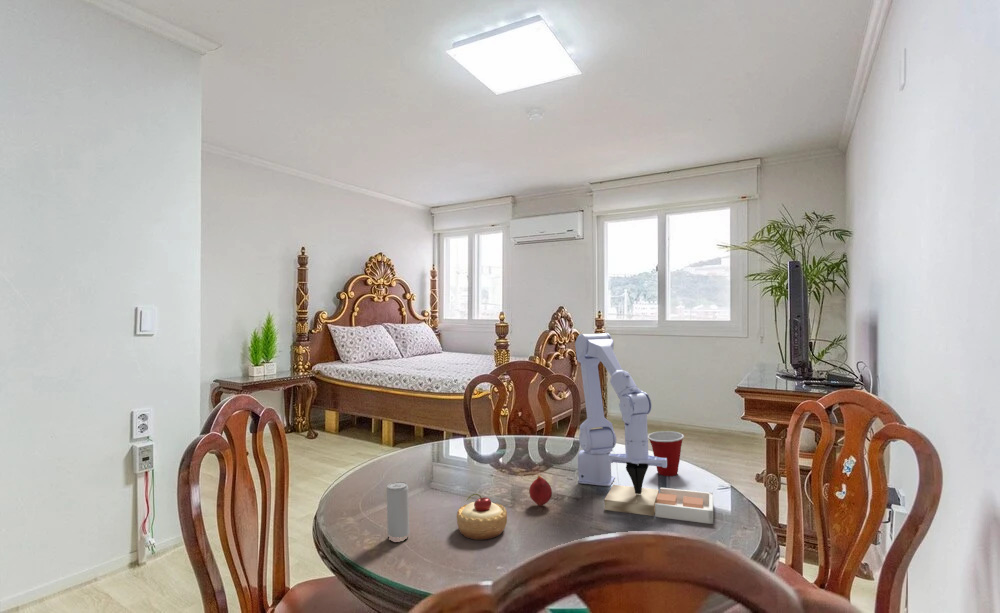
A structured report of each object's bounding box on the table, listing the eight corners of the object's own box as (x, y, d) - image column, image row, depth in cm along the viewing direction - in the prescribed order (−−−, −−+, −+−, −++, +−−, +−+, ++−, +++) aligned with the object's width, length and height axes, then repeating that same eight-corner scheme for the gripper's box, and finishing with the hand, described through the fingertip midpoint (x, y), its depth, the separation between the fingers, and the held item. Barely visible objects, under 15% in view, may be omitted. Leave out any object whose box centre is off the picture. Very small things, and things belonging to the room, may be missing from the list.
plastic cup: (641, 471, 153) (639, 432, 153) (669, 466, 157) (667, 429, 157) (664, 481, 143) (662, 440, 143) (693, 476, 147) (691, 436, 147)
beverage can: (389, 534, 112) (388, 482, 112) (410, 533, 112) (409, 481, 113) (386, 544, 107) (384, 489, 107) (408, 542, 107) (406, 488, 108)
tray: (655, 516, 117) (655, 504, 117) (660, 498, 129) (660, 487, 129) (713, 524, 112) (712, 511, 112) (713, 504, 124) (712, 492, 124)
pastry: (512, 541, 108) (512, 501, 108) (459, 546, 105) (459, 505, 105) (501, 518, 120) (501, 482, 120) (453, 523, 117) (453, 486, 117)
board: (604, 509, 123) (604, 499, 123) (613, 493, 134) (613, 484, 134) (654, 516, 118) (653, 505, 118) (659, 499, 129) (658, 489, 129)
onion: (554, 503, 128) (553, 472, 128) (549, 511, 123) (548, 479, 123) (533, 501, 130) (532, 471, 130) (527, 509, 125) (526, 477, 125)
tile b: (683, 512, 118) (682, 502, 118) (684, 506, 123) (683, 496, 123) (703, 515, 117) (702, 504, 117) (703, 508, 121) (703, 498, 121)
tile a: (656, 509, 121) (656, 499, 121) (658, 502, 125) (658, 493, 125) (675, 511, 119) (675, 501, 119) (677, 505, 123) (676, 495, 124)
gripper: (605, 441, 125) (607, 494, 124) (664, 445, 119) (666, 501, 119) (610, 435, 131) (612, 485, 131) (666, 438, 126) (668, 491, 125)
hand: (638, 492), depth 125 cm, fingers closed
